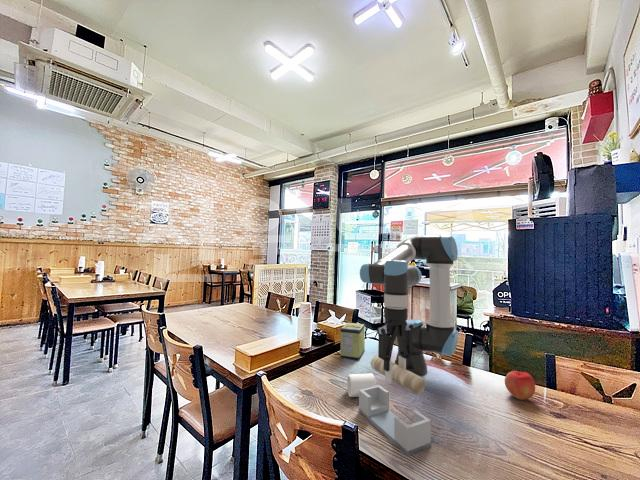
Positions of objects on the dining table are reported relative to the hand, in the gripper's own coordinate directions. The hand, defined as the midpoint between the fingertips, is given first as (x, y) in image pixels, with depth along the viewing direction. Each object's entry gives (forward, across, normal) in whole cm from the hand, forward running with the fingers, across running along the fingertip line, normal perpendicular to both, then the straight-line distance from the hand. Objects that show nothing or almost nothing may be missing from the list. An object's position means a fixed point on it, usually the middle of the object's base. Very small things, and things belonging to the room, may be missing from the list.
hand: (395, 378), depth 92 cm
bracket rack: (+15, +1, 0) cm, 15 cm away
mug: (+15, -2, -24) cm, 28 cm away
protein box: (+15, -23, -60) cm, 66 cm away
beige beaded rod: (-2, 0, 0) cm, 2 cm away
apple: (+15, -57, +7) cm, 59 cm away
